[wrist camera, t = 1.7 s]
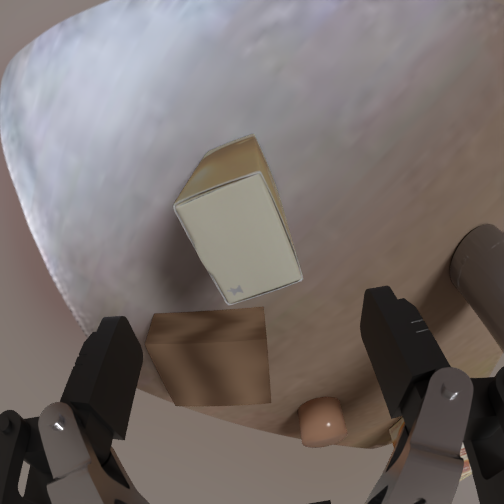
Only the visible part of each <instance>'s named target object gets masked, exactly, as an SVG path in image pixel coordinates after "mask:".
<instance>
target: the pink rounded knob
mask: <svg viewBox="0 0 504 504" xmlns="http://www.w3.org/2000/svg"><path fill="white" fill-rule="evenodd" d="M298 416H299V423H300V430H301V437H302V444H303V445H304V446H306V447H311V448H318V447H325V446H329V445H333V444H335V443H338V442H340V441H342V440H343V439H344V438H345V437H346V436H347V434H348V433H347V429H346V425H345V420H344V416H343V412H342V408H341V404H340V401H339V400H338V399H336V398H334V397H320V398H316V399H312V400H310V401H307V402H305V403H304V404H302V405H301V406H300V407H299V409H298Z"/></svg>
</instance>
